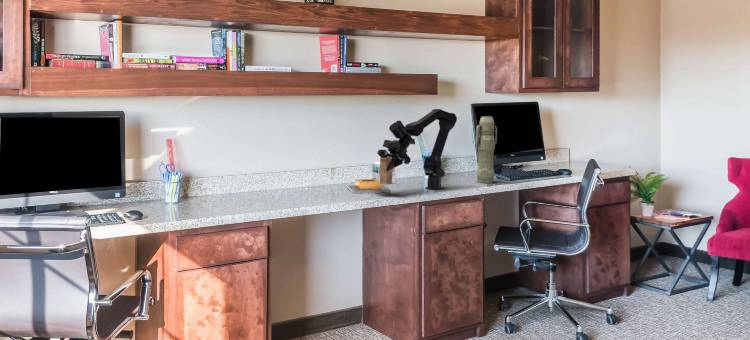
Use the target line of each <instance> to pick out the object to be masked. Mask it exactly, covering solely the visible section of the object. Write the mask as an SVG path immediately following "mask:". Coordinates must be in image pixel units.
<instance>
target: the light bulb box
mask: <svg viewBox="0 0 750 340" xmlns="http://www.w3.org/2000/svg"><path fill="white" fill-rule="evenodd" d="M371 176H372V178H371V179H378V180H380V161H379V162H372V175H371ZM395 183H396V167H395V168H393V169H392V184H395Z"/></svg>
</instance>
